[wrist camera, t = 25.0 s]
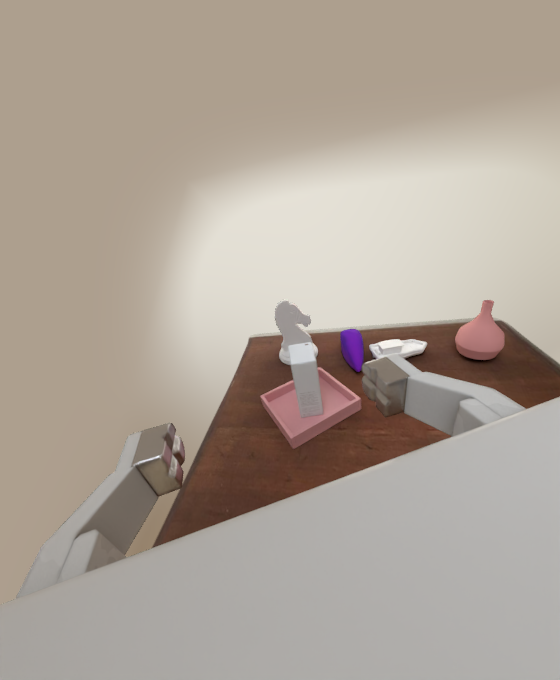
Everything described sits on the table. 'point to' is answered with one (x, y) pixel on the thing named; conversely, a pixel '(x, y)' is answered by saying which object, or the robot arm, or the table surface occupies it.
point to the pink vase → (480, 336)
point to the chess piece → (291, 328)
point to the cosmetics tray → (299, 429)
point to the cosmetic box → (306, 379)
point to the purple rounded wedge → (352, 348)
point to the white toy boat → (397, 348)
